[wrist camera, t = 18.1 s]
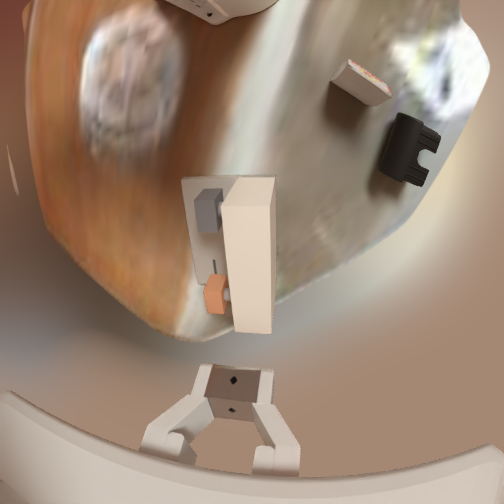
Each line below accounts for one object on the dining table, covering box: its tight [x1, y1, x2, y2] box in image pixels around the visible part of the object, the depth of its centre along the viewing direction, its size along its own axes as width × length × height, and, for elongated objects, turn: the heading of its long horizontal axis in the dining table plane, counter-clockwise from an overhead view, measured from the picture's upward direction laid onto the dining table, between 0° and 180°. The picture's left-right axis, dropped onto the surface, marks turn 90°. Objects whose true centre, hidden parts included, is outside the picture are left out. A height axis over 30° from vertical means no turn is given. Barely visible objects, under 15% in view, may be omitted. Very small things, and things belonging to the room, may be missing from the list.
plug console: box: [181, 175, 277, 334], centre depth 46 cm, size 16×22×14 cm
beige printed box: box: [330, 59, 392, 106], centre depth 32 cm, size 4×7×10 cm, turn 62°
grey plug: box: [194, 188, 224, 233], centre depth 42 cm, size 4×5×5 cm
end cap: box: [378, 113, 441, 187], centre depth 37 cm, size 10×7×7 cm
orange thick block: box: [203, 274, 231, 314], centre depth 50 cm, size 4×5×5 cm
